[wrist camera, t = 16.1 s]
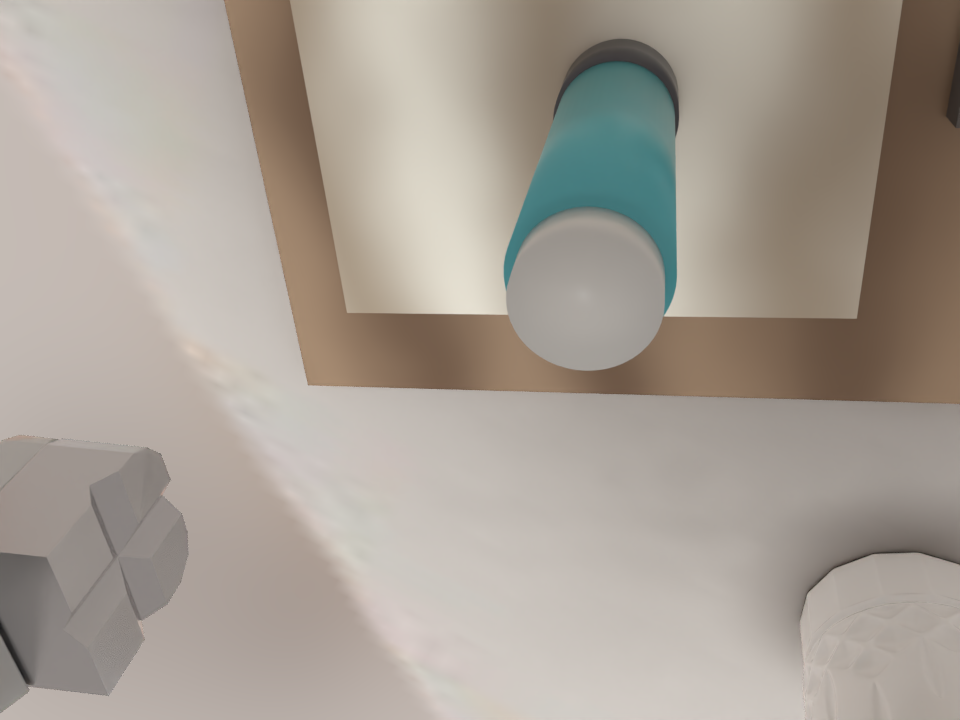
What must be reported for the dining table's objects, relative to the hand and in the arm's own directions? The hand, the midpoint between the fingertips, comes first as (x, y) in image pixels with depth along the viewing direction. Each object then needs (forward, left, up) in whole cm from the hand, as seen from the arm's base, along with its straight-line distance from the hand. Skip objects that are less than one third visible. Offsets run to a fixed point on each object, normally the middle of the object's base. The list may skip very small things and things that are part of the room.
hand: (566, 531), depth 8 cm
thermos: (+1, +1, -19) cm, 19 cm away
